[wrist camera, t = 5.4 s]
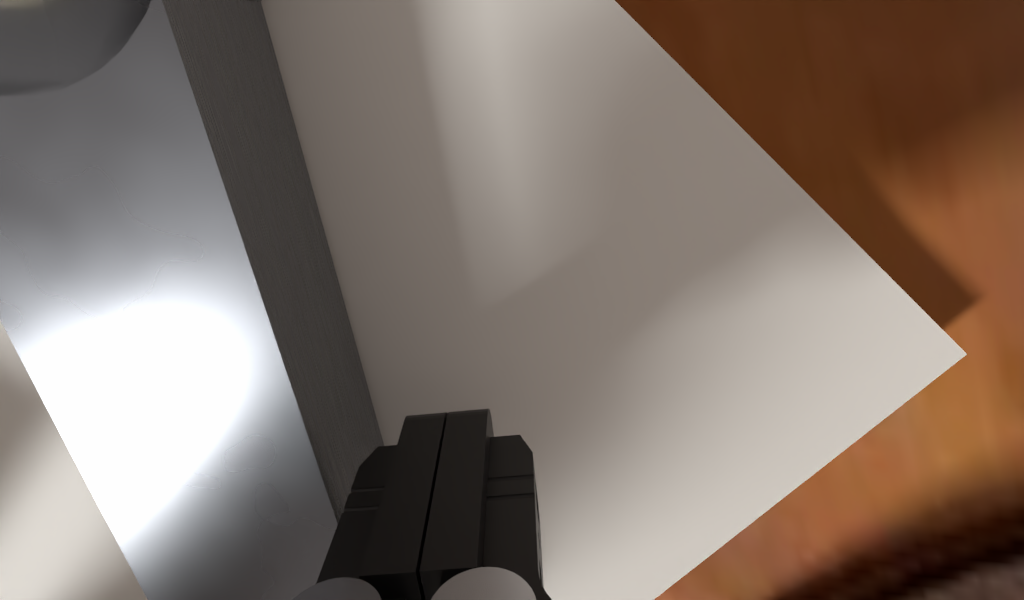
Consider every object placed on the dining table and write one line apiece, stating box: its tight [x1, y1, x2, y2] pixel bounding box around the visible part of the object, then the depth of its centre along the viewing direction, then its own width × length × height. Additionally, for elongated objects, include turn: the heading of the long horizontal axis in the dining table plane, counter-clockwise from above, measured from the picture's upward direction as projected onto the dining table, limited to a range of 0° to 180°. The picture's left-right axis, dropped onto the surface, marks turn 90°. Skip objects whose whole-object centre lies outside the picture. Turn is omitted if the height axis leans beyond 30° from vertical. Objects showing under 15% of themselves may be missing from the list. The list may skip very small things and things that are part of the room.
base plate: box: [0, 0, 967, 600], centre depth 12 cm, size 21×19×1 cm
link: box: [0, 0, 384, 600], centre depth 10 cm, size 19×4×4 cm, turn 8°
